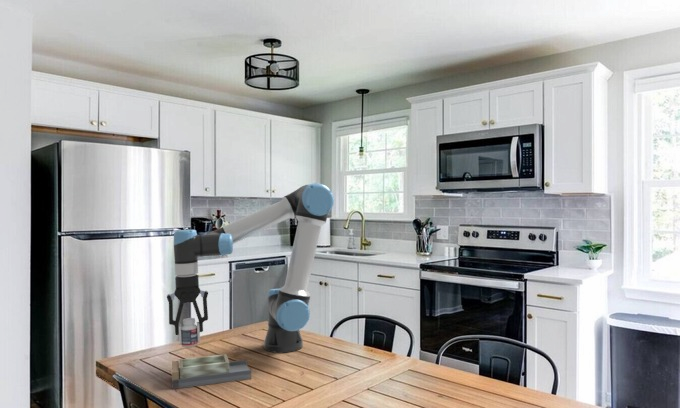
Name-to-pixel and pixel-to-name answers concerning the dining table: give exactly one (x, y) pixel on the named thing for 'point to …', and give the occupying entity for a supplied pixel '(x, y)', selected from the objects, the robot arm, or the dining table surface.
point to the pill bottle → (189, 333)
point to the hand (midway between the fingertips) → (189, 342)
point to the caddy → (204, 366)
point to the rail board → (236, 372)
